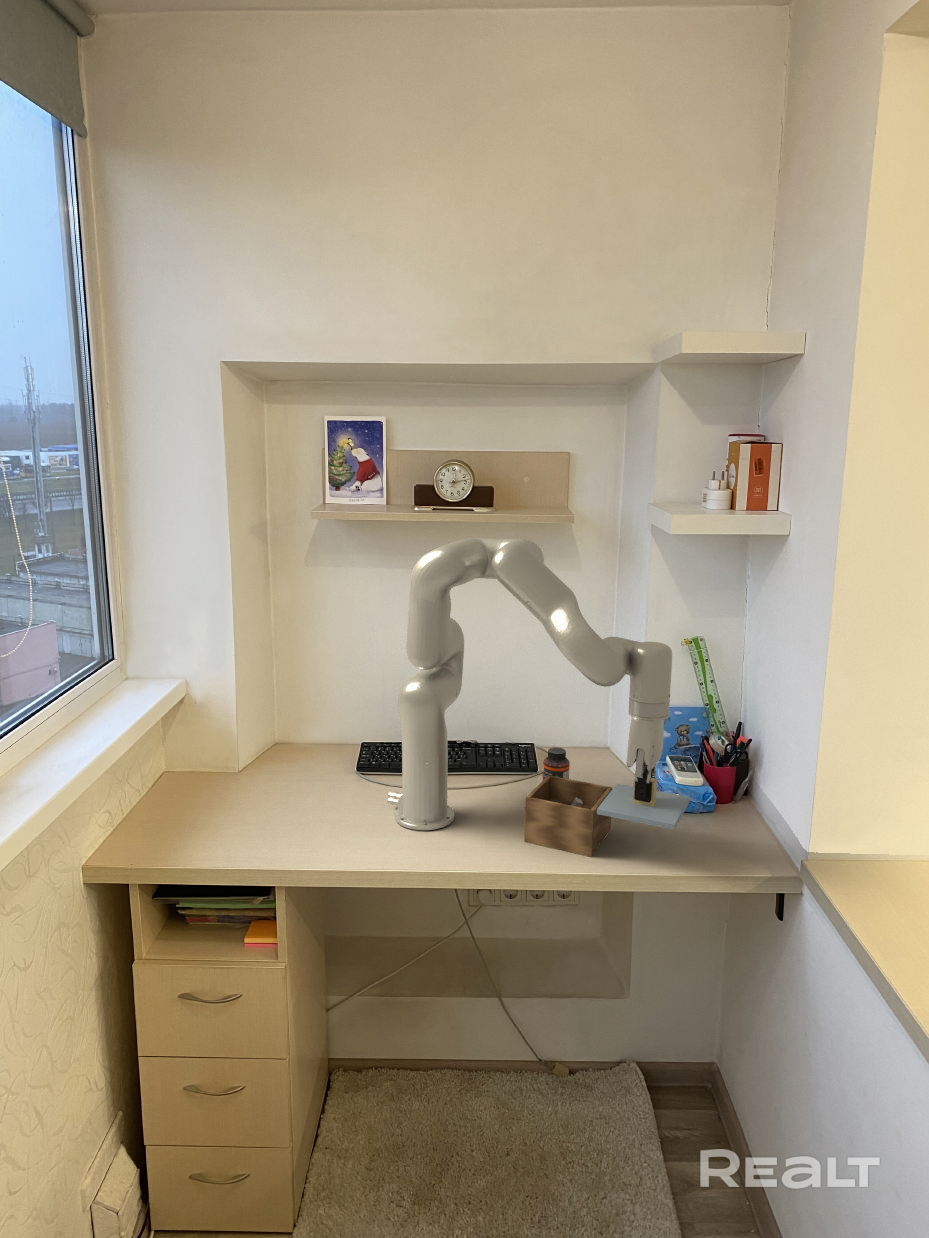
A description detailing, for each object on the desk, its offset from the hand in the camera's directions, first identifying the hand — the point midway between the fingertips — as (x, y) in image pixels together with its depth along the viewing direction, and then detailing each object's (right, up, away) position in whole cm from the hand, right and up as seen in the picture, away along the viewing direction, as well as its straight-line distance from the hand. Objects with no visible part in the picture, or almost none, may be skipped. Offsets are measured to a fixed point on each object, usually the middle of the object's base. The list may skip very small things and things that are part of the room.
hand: (644, 797), depth 167 cm
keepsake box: (-14, -10, +9) cm, 19 cm away
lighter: (-15, -10, +9) cm, 20 cm away
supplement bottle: (-14, -6, +28) cm, 32 cm away
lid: (0, -2, 0) cm, 2 cm away
